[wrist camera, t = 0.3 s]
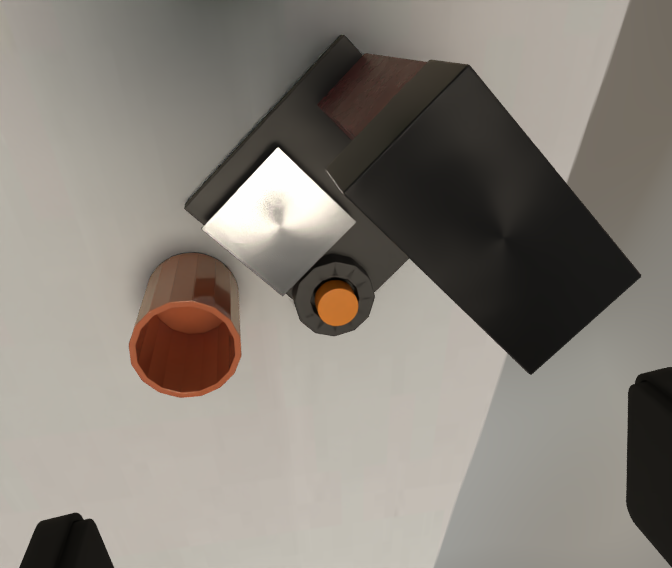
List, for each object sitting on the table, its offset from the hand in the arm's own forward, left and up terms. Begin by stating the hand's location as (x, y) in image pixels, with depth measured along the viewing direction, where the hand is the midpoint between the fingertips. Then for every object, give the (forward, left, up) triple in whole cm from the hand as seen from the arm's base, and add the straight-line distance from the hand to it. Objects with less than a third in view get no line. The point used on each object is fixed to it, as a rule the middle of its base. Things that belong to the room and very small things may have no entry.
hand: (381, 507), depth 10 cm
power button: (+11, -4, -33) cm, 35 cm away
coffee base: (+6, +1, -36) cm, 36 cm away
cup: (+4, -12, -36) cm, 38 cm away
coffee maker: (+6, +1, -33) cm, 33 cm away
